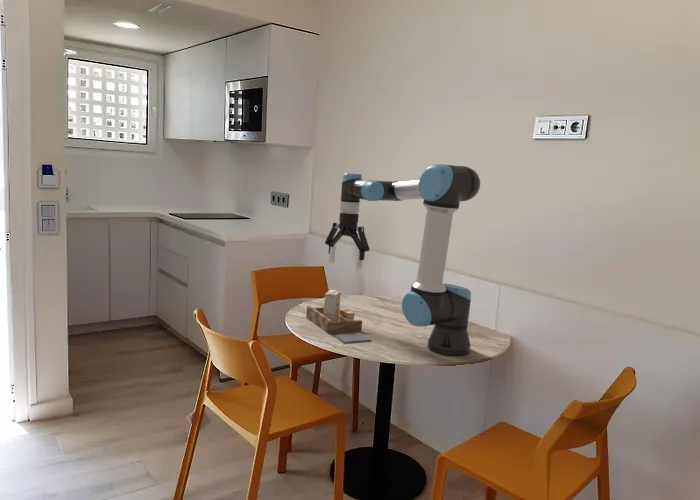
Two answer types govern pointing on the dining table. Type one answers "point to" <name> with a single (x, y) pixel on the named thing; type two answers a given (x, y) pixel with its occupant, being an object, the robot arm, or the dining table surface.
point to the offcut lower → (344, 319)
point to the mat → (353, 338)
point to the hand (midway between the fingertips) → (345, 265)
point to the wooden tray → (327, 324)
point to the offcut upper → (346, 313)
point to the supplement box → (332, 305)
